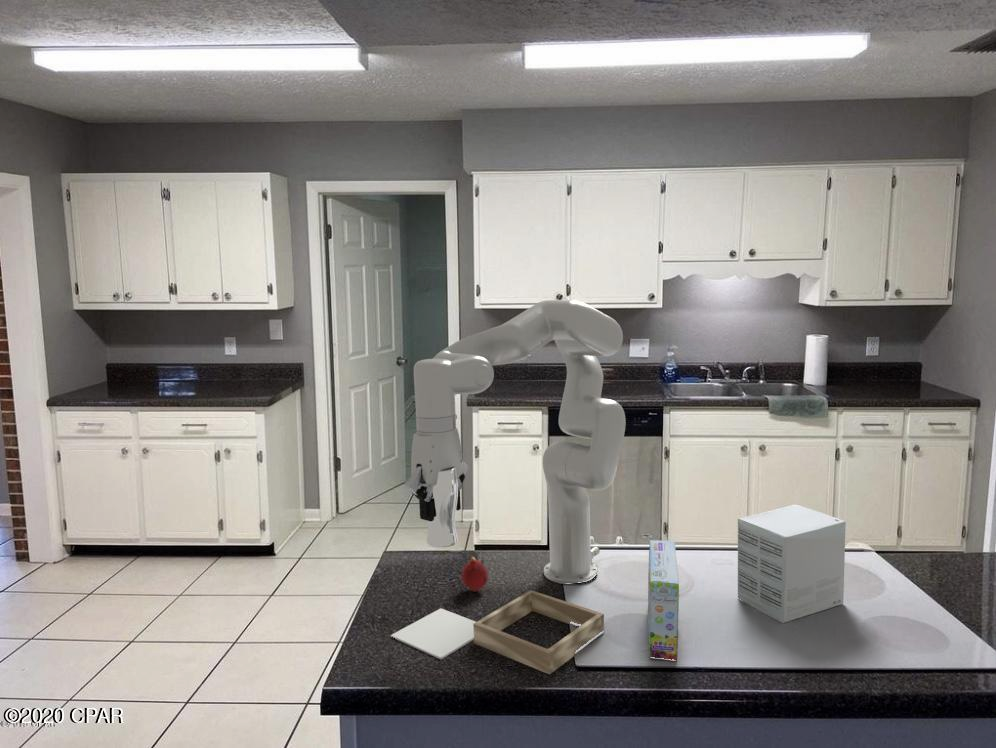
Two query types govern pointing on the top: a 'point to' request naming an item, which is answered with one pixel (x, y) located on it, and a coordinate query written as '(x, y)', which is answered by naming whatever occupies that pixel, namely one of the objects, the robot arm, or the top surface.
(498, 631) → the wooden frame
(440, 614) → the mat
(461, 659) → the top surface
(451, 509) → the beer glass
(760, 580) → the supplement box
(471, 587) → the onion
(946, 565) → the top surface
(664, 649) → the snack box
